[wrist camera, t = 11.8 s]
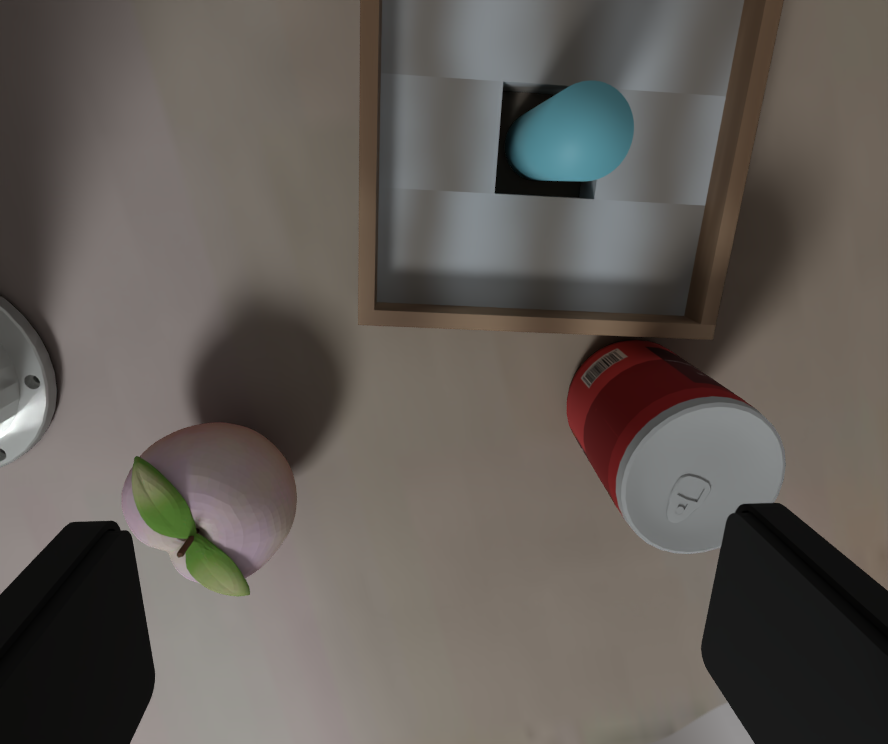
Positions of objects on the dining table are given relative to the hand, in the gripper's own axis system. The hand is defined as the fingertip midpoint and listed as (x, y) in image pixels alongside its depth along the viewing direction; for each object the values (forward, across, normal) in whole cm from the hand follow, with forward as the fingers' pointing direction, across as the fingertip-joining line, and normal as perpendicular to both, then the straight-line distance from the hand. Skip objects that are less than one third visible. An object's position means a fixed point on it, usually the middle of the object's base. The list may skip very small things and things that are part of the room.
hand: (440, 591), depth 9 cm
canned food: (+26, -14, +6) cm, 30 cm away
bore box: (+26, -7, -8) cm, 28 cm away
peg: (+26, -7, -8) cm, 28 cm away
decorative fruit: (+27, +10, +11) cm, 31 cm away
